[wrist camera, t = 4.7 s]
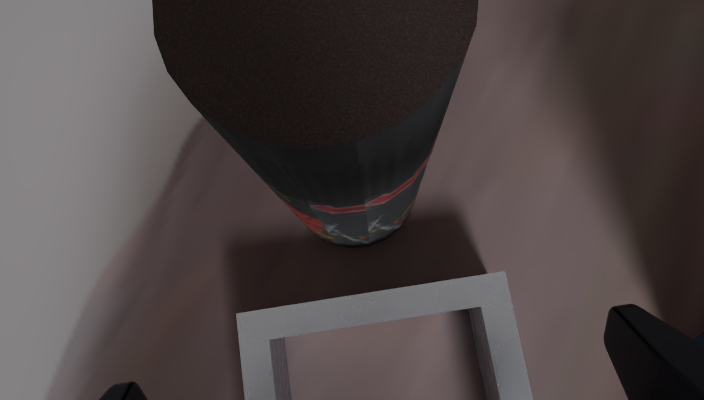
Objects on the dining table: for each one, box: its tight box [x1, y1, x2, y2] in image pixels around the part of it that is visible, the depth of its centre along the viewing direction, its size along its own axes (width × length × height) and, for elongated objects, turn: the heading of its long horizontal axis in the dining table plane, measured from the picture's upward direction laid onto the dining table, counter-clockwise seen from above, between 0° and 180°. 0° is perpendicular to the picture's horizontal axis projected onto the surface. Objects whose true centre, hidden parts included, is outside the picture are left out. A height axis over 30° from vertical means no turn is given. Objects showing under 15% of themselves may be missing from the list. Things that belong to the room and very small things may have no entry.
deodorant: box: [152, 0, 478, 248], centre depth 16 cm, size 6×6×15 cm
